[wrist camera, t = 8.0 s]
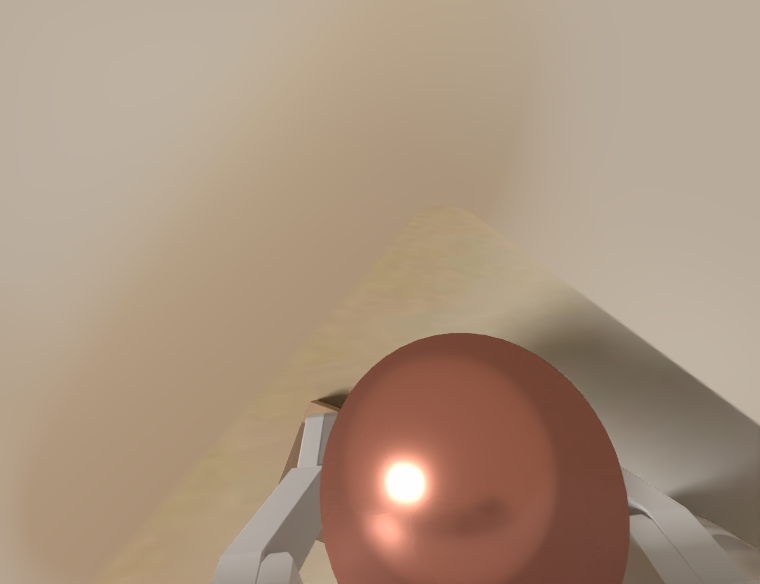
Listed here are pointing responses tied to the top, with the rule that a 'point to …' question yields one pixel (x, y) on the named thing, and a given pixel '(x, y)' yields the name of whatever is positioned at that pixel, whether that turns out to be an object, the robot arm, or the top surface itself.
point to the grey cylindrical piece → (471, 473)
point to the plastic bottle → (735, 549)
